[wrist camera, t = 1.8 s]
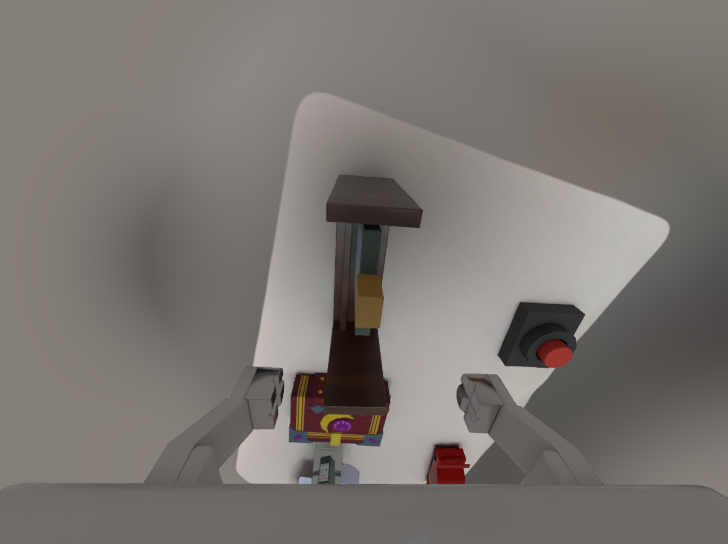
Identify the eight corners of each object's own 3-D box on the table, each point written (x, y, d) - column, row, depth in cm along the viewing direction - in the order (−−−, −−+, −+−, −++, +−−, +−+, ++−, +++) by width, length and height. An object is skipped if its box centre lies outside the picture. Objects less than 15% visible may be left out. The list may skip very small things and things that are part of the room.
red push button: (542, 338, 35) (551, 347, 34) (567, 339, 35) (577, 348, 34) (532, 357, 37) (540, 367, 35) (556, 358, 37) (565, 368, 35)
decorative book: (295, 370, 41) (288, 398, 37) (395, 378, 43) (400, 405, 38) (294, 416, 46) (288, 445, 42) (383, 421, 48) (386, 450, 43)
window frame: (338, 174, 28) (326, 202, 16) (393, 179, 29) (423, 209, 16) (333, 322, 37) (323, 414, 25) (375, 324, 38) (385, 415, 25)
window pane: (358, 193, 28) (361, 246, 14) (373, 194, 28) (390, 248, 14) (353, 267, 32) (351, 364, 18) (366, 268, 32) (374, 365, 18)
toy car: (434, 442, 51) (441, 470, 47) (462, 442, 52) (472, 470, 47) (423, 480, 58) (429, 508, 53) (448, 479, 58) (456, 507, 54)
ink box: (340, 458, 53) (337, 538, 42) (316, 458, 53) (306, 538, 42) (343, 432, 49) (340, 513, 39) (316, 432, 49) (306, 512, 38)
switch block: (519, 302, 37) (537, 319, 33) (573, 305, 37) (596, 322, 34) (497, 355, 41) (511, 375, 38) (546, 357, 42) (563, 377, 38)
